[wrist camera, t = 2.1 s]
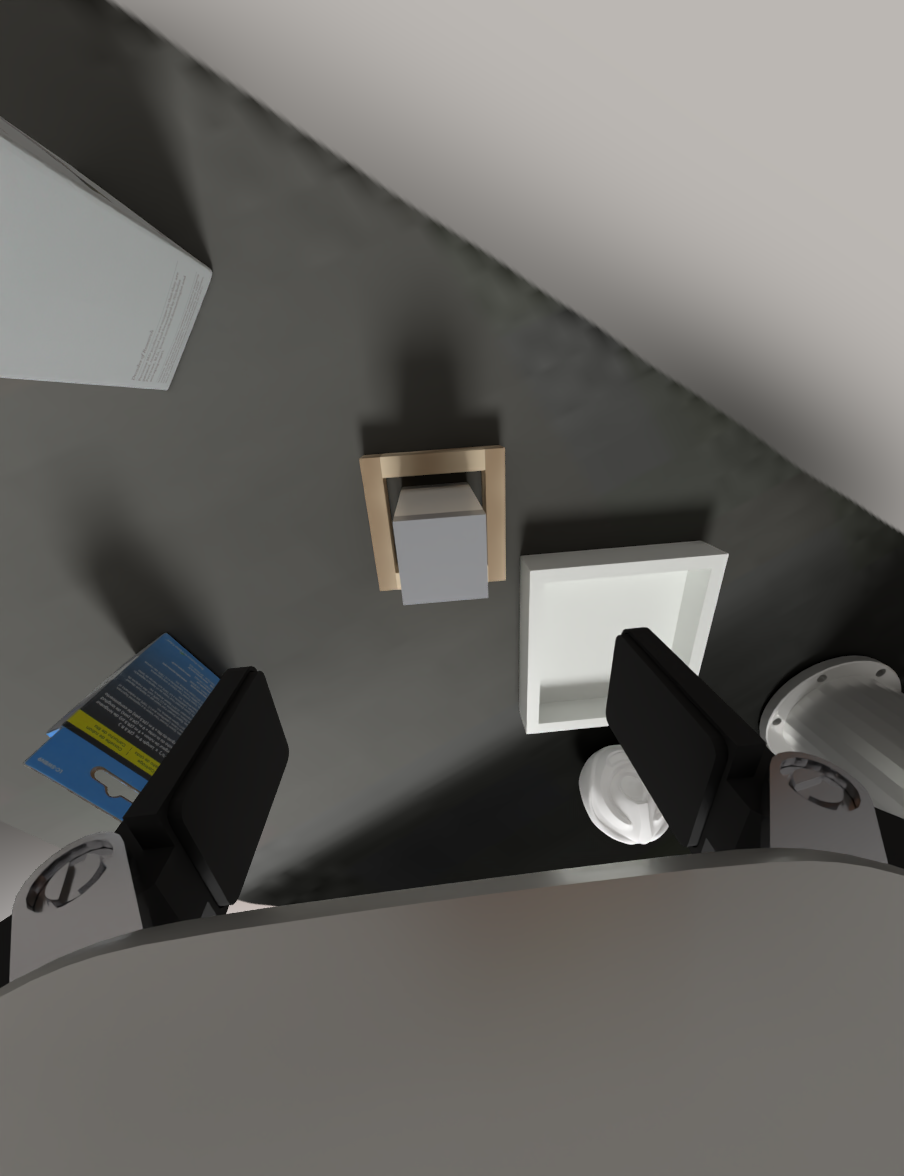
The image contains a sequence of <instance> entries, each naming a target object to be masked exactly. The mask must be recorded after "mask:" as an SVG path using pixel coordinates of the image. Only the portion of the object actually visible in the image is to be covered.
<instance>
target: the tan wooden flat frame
mask: <svg viewBox="0 0 904 1176" xmlns="http://www.w3.org/2000/svg"><path fill="white" fill-rule="evenodd" d="M359 460H360V467H361V473H362V480H363V486H364V492H365V499H366V505H367V511H368V518H369V524H370V530H371V537H372V543H373V549H374V556H375V562H376V568H377V575H378V581H379V587H380V591H386V590H398V589H401V582H400V575H399V567H398V563H397V558H396V550H395V543H394V535H393V527H392V520H391V512H390V505H389V497H388V490H387V482H386V478H390V477H403V476H416V475H429V474H443V473H456V472H469V471H481V476H482V508H483V510H484V512H485V513H486V533H487V569H488V582H491V581H502V580H506V546H505V448H504V447H502V446H500V445H492V446H479V447H466V448H452V449H439V450H426V451H412V452H399V453H385V454H372V455H363V456H362V457H361V458H360V459H359Z"/></svg>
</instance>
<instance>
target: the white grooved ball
mask: <svg viewBox="0 0 904 1176" xmlns="http://www.w3.org/2000/svg"><path fill="white" fill-rule="evenodd" d="M579 788H580V793H581V797H582V800H583V803H584V806H585V808H586V811H587V813H588V815H589V817H590V818H591V820H592V822H593V823H594V824H595V825H596V826H597V827H598V828H599V829H600V830H601V831H603V832H604V833H605V834H607V835H608V836H610V837H611V838H613V839H615V840H617V841H620V842H623V843H626V844H631V845H632V844H638V843H641V844H647V843H648V842H651V841H654V840H656V839H657V838H659V837H660V836H661V835H662V834H663V833H664V832H665V831H666V830H667V828H668V824H667V822H666V821H665V819H664V817H663V815H662V814H661V812H660V810H659V809H658V807H657V805H656V804H655V802H654V800H653V799H652V797H651V795H650V794H649V792H648V790H647V789H646V787H645V785H644V784H643V782H642V780H641V779H640V777H639V775H638V774H637V772H636V770H635V768H634V767H633V765H632V763H631V762H630V760H629V758H628V757H627V755H626V753H625V752H624V750H623V748H622V747H621V745H610V746H607V747H604V748H602V749H600V750H598V751H596V752H595V753H594V754H593V755H591V756H590V757H589V759H588V760H587V761H586V763H585V765H584V767H583V769H582V771H581V774H580V778H579Z"/></svg>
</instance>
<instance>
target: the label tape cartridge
mask: <svg viewBox="0 0 904 1176" xmlns="http://www.w3.org/2000/svg"><path fill="white" fill-rule="evenodd" d="M219 680H220V679H219V678H218V677H217V676H216V675H215V674H214V673H212V672H211V671H210V670H209V669H208V668H207V667H205V666H204V665H203V664H202V663H201V662H200V661H198V660H197V659H196V658H195V657H194V656H193V655H192V654H190V653H189V652H188V651H187V650H186V649H185V648H183V647H182V646H181V645H180V644H179V643H178V642H177V641H175V640H174V639H173V638H172V637H171V636H170V635H169V634H168V633H164V634H162V635H161V636H160V637H158V638H157V639H156V640H154V641H153V642H152V643H150V644H149V645H148V646H147V647H145V648H144V649H142V650H141V651H140V652H138V653H137V654H136V655H135V656H133V657H132V658H131V659H130V660H128V661H127V662H126V663H125V664H123V665H122V666H121V667H120V668H119V669H118V670H116V671H115V672H114V673H113V674H112V675H111V676H109V677H108V678H107V679H106V680H105V681H104V682H103V683H101V684H100V685H99V686H98V687H97V688H96V689H95V690H93V691H92V692H91V693H90V694H89V695H88V696H87V697H86V698H84V699H83V700H82V701H81V702H80V703H79V704H78V705H76V706H75V707H74V708H73V709H72V710H71V711H69V712H68V713H67V714H66V715H65V716H64V717H63V718H62V719H60V720H59V721H58V722H57V723H56V724H55V725H54V726H53V727H52V728H51V729H50V730H49V731H47V733H46V734H47V735H48V736H49V737H51V738H50V739H49V740H48V741H47V742H45V743H44V744H43V745H42V746H41V747H40V748H39V749H38V750H36V751H35V752H34V753H33V754H32V755H31V756H30V757H29V758H27V759H26V760H25V761H24V762H23V764H24V765H25V766H26V767H29V768H31V769H33V770H34V771H36V772H38V773H40V774H42V775H43V776H45V777H47V778H48V779H50V780H51V781H53V782H55V783H56V784H58V785H60V786H61V787H63V788H64V789H66V790H68V791H70V792H71V793H73V794H74V795H76V796H78V797H79V798H81V799H83V800H84V801H86V802H87V803H89V804H90V805H92V806H94V807H96V808H97V809H99V810H100V811H102V812H104V813H106V814H107V815H109V816H111V817H112V818H114V819H116V820H117V821H119V822H122V821H123V816H124V815H125V813H126V812H127V811H128V809H129V808H130V806H131V805H132V803H133V802H131V801H129V800H128V799H126V798H125V797H123V796H117V797H111V796H109V794H108V792H107V787H106V786H105V785H104V784H102V783H100V782H99V781H98V780H97V779H96V778H95V777H94V773H95V772H96V771H98V770H102V771H104V772H106V773H108V774H109V775H111V776H112V777H114V778H115V779H117V780H118V781H120V782H122V783H123V784H125V785H126V786H128V787H129V788H131V789H133V790H134V791H136V792H137V793H139V794H140V792H141V791H142V789H143V788H144V786H145V785H146V784H147V782H148V781H149V779H150V778H151V777H152V775H153V774H154V772H155V771H156V769H157V768H158V767H159V765H160V764H161V762H162V761H163V760H164V758H165V757H166V755H167V754H168V753H169V751H170V750H171V748H172V747H173V745H174V744H175V743H176V741H177V740H178V738H179V737H180V736H181V734H182V733H183V731H184V730H185V728H186V727H187V726H188V724H189V723H190V721H191V720H192V719H193V717H194V716H195V714H196V713H197V712H198V710H199V709H200V707H201V706H202V704H203V703H204V702H205V700H206V699H207V697H208V696H209V695H210V693H211V692H212V690H213V689H214V687H215V686H216V685H217V683H218V682H219Z"/></svg>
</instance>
